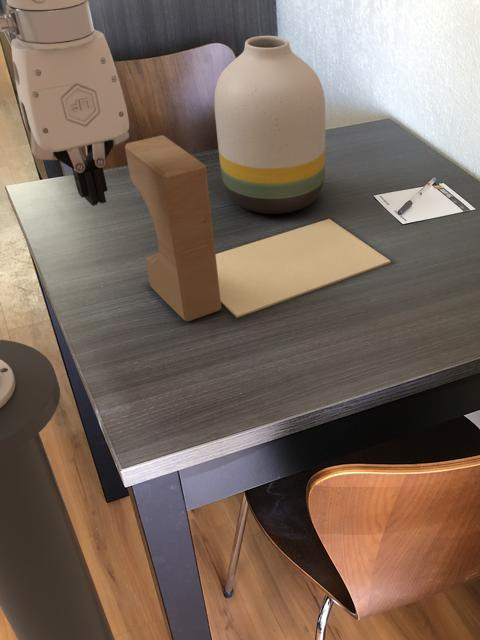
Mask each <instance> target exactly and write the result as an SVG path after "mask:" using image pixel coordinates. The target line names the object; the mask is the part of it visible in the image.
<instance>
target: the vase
mask: <svg viewBox="0 0 480 640" xmlns="http://www.w3.org/2000/svg"><path fill="white" fill-rule="evenodd" d="M325 98H326V97H325V92H324V89H323V85H322V82H321V80H320V78H319V76H318V74H317V72H316V71H315V70H314V69H313V67H311V66H310V64H308V62H306V61H304V60H303V59H302V58H300V57H299V56H298V55H297V54H295V53H294V51H292V48H291V45H290V41H289V40H288V39H287V38H284V37H282V36H277V35H258V36H252V37H250V38H248V39H246V40H245V42H244V49H243V51H242V52H241V53H240V54H239V55H238V56H237V57H236V58H235V59H233V60H232V61H231V62H230V63H229V64H228V65H227V66H226V67H225V68H224V69H223V71H222V72H221V73H220V75H219V77H218V79H217V83H216V86H215V89H214V100H213V103H214V104H213V105H214V119H215V127H216V128H215V129H216V137H217V147H218V156H219V165H220V174H221V180H222V184H223V186H224V189H225V192H227V195H228V196H229V198H230V199H231V200H232V201H233V202H234V204H236V205H237V206H239V207H240V208H242V209H245V210H247V211H249V212H253V213H258V214H264V215H282V214H288V213H294V212H297V211H300V210H302V209H305V208H306V207H308V206H309V205H311V204H313V202H315V201H316V200H317V198H318V197H319V195H320V193H321V191H322V188H323V185H324V181H325V173H326V99H325Z"/></svg>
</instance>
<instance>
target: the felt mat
mask: <svg viewBox="0 0 480 640" xmlns="http://www.w3.org/2000/svg"><path fill="white" fill-rule="evenodd" d="M215 254H216V263H217V272H218V281H219V290H220V299H221V305H222V306H224V307H225V308H226V309H227V310H228V311H229V312H230V313H231V314H232V315H233V316H234V317H235V318H236V319H237V318H241V317H243V316H246V315H249V314H251V313H255V312H257V311H260V310H262V309H266V308H268V307H271V306H275V305H277V304H281V303H282V302H285V301H288V300H291V299H293V298H296V297H299V296H303V295H305V294H308V293H310V292H314V291H316V290H319V289H321V288H324V287H327V286H330V285H333V284H335V283H338V282H341V281H344V280H346V279H349V278H352V277H355V276H358V275H360V274H363V273H366V272H368V271H371V270H375V269H377V268H380V267H383V266H385V265H388V264H391V260H390V259H389V258H387V257H386V256H384V255H383V254H381V253H380V252H378V251H377V250H375V249H374V248H373V247H371V246H369V245H368V244H366V242H364V241H362V240H361V239H360V238H358V237H357V236H355V235H354V234H353V233H351V232H349V231H348V230H347V229H345V228H343V227H342V226H340V225H339V224H337V223H336V222H335V221H333V220H332V219H330V218H327V219H324V220H321V221H316V222H315V223H314V222H313V223H311V224H308V225H304V226H301V227H298V228H295V229H292V230H289V231H285V232H282V233H279V234H276V235H272V236H270V237H266V238H262V239H259V240H256V241H253V242H250V243H247V244H244V245H240V246H237V247H233V248H232V249H227V250H224V251H221V252H218V253H215Z"/></svg>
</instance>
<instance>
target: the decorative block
mask: <svg viewBox="0 0 480 640" xmlns="http://www.w3.org/2000/svg"><path fill="white" fill-rule="evenodd" d="M124 150H125V156H126V161H127V166H128V173H129V178H130V181H131V182H132V184H133V185H134V186H135V187H136V189H137V190H138V192H139V193H140V195H141V197H142V199H143V201H144V202H145V205H146V207H147V209H148V212H149V215H150V217H151V220H152V222H153V224H154V229H155V234H156V237H157V247H158V252H157V253H154V254H151V255H147V256H146V257H145V264H146V265H145V266H146V269H147V275H148V281H149V286H150V288H152V290H153V291H154V292H155V293H156V294H157V295H158V296H159V297H160V298H161V299H162V300H163V301H164V302H165V303H166V304H167V305H168V307H170V308H171V309H172V310H173V311H174V312H175V313H176V314H177V315H178V316H179V317H180V318H181V319H182V320H183V321H184V322H186V323H189V322H192V321H194V320H197V319H200V318H203V317H206V316H208V315H211V314H214V313H217V312H220V311H221V310H222V303H221V299H220V290H219V281H218V272H217V263H216V254H217V253H216V247H215V237H214V236H215V235H214V228H213V218H212V209H211V200H210V192H209V191H210V190H209V183H208V174H207V165H205V164H204V163H202V162H201V161H200V160H199V159H198V158H196V157H194V156H193V155H192V154H190V153H189V152H187V151H186V150H185V149H184V148H182V147H181V146H179V145H178V144H176V143H175V142H173V141H172V140H170V139H169V138H168V137H167V136H165V135H164V134H161V135H157V136H152V137H148V138H144V139H140V140H135V141H131V142H127V143H126V144H125V146H124Z"/></svg>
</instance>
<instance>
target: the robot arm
mask: <svg viewBox="0 0 480 640" xmlns="http://www.w3.org/2000/svg"><path fill="white" fill-rule="evenodd" d="M5 1H6V4H5V8H6V10H5V13H3V14H2V15H0V33H8V34H11V33H12V34H13V35H14V36H15V38H13V39H12V40H11V41H10V43H11V44H10V47H11V59H12V60H11V61H12V67H13V74H14V80H15V81H14V82H15V86H16V91H17V92H16V93H17V96H18V97H17V98H18V101H19V107H20V111H21V115H22V119H23V123H24V126H25V129H26V131H27V134H28V135H29V137H30V146H31V147H30V152H31V155H33V156H34V158H35V159H36V160H38V161H59V162H60V163H63V164H64V165H66V166H67V167H69V168H71V171H72V174H73V178H74V182H75V186H76V190H77V193H78V195H79V196H80V197H81V198H84V199H85V201H87V202H88V203H89V204H90V205H91V206H92V207H95V206H97V205H98V204H105V203H107V198H106V195H105V193H106V192H108V184H107V181H106V175H105V172H104V167H105V166H106V163H107V162H106V159H108V156H109V154H110V153H111V151H112V150H113V148H114V146H118V145H120V144H121V143H123V142H126V141H127V140H128V139H129V138H130V132H129V130H130V119H129V113H128V110H127V105H126V101H125V96H124V93H123V89H122V86H121V82H120V78H119V75H118V71H117V68H116V65H115V61H114V59H113V55H112V53H111V50H110V47H109V44H108V41H107V39H106V37H105V34H104V33H103V32H102V31H100V30H97V29H95V27H94V22H93V17H92V11H91V7H90V2H89V1H90V0H5ZM82 147H84V149H85V159H84V160H83V157H82V155H81V152H80V149H79V148H82ZM15 385H16V383H15V377H14V374H13V372H12V369H11V368H10V367H9V365H8V364H6V363H5V362H4V361H2V360H0V408H1V407H2V406H3V405H5V404H6V402H7V401H8V400H9V399H10V397H11V396H12V394H13V392H14V390H15Z"/></svg>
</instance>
